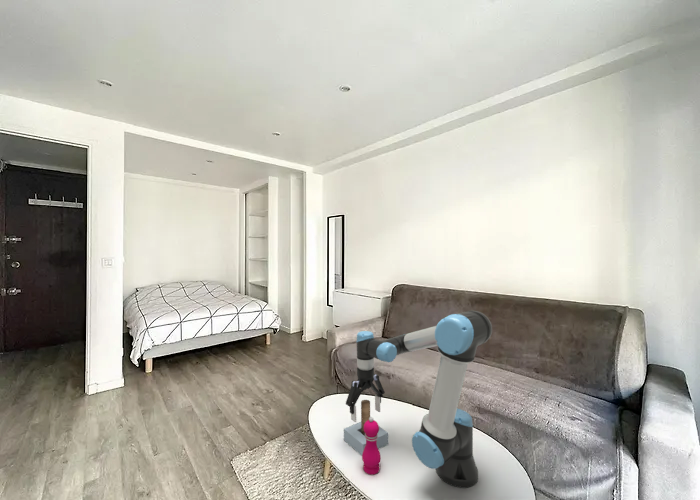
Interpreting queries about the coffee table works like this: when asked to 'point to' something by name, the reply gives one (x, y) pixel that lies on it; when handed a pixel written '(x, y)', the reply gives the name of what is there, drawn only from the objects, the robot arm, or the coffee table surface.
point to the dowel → (364, 414)
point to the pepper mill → (371, 448)
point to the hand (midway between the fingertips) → (366, 415)
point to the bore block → (363, 438)
